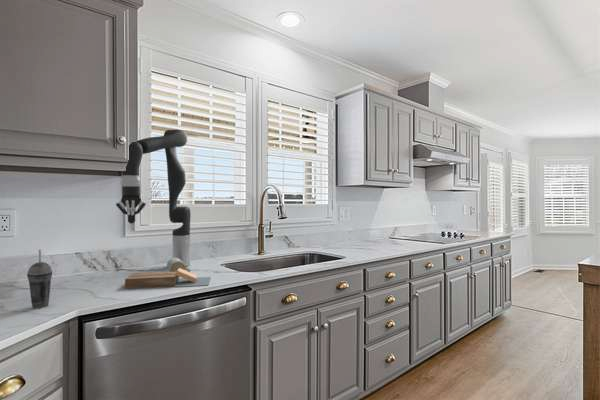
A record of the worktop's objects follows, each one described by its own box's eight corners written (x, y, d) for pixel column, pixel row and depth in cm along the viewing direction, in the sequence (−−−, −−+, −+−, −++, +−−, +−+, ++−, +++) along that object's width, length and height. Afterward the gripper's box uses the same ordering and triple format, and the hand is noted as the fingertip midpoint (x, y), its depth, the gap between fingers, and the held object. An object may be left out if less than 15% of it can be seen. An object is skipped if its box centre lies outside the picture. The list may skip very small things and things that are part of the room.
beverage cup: (26, 311, 118) (26, 252, 117) (27, 306, 123) (27, 249, 123) (53, 307, 122) (52, 250, 122) (52, 302, 128) (52, 247, 128)
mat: (180, 278, 164) (180, 278, 164) (210, 277, 167) (210, 276, 167) (174, 287, 148) (174, 286, 148) (208, 285, 151) (208, 284, 151)
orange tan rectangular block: (177, 271, 159) (179, 267, 159) (195, 279, 161) (197, 275, 161) (175, 274, 153) (177, 270, 153) (194, 282, 155) (196, 278, 155)
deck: (133, 281, 158) (133, 273, 158) (179, 279, 162) (179, 271, 162) (125, 288, 146) (125, 279, 146) (175, 286, 150) (175, 276, 150)
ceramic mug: (171, 276, 169) (171, 260, 169) (166, 273, 176) (166, 258, 176) (192, 274, 175) (193, 258, 175) (187, 271, 182) (187, 256, 182)
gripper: (148, 185, 166) (148, 222, 166) (117, 185, 163) (118, 223, 163) (144, 185, 158) (145, 223, 159) (112, 185, 155) (113, 224, 156)
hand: (131, 223), depth 161 cm, fingers closed
